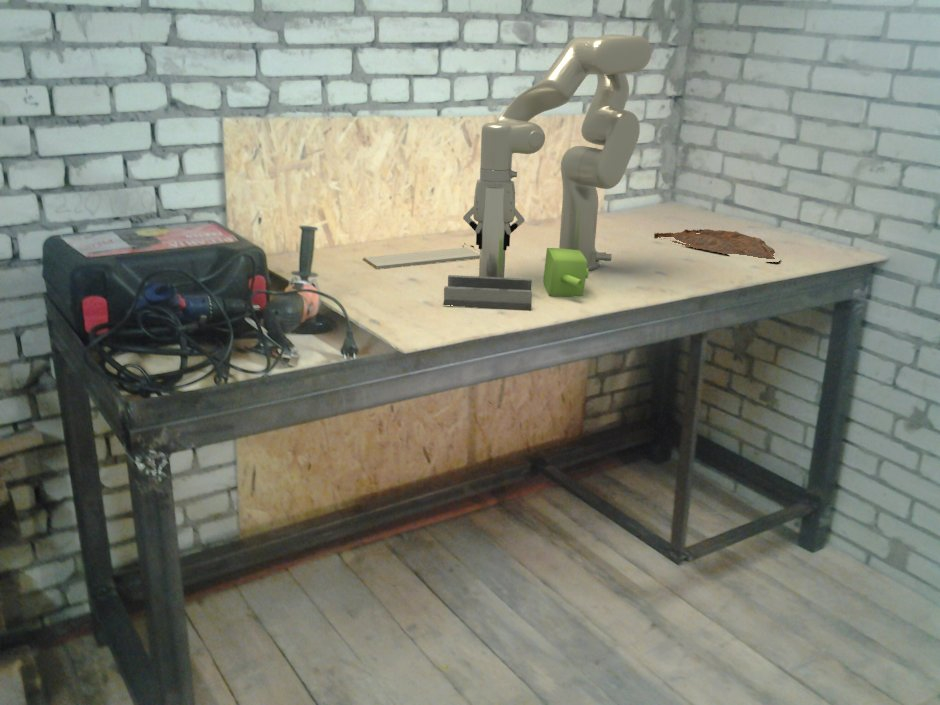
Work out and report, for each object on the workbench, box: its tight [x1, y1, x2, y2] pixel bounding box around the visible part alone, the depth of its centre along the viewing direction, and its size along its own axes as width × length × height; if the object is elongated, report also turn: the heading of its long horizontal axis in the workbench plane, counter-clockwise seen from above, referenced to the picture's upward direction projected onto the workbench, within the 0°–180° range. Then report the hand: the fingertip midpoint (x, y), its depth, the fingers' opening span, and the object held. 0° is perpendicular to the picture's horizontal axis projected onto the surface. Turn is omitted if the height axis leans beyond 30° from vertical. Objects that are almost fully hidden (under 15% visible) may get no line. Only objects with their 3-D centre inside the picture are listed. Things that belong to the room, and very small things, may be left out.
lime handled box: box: [542, 247, 590, 298], centre depth 212 cm, size 18×10×10 cm, turn 4°
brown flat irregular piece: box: [653, 228, 780, 264], centre depth 262 cm, size 40×28×5 cm
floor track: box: [442, 274, 533, 311], centre depth 205 cm, size 20×13×4 cm, turn 86°
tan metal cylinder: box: [478, 184, 506, 278], centre depth 216 cm, size 6×6×25 cm
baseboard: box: [362, 242, 480, 270], centre depth 239 cm, size 31×3×12 cm
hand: (492, 247), depth 218 cm, fingers closed on tan metal cylinder, 5 cm apart
